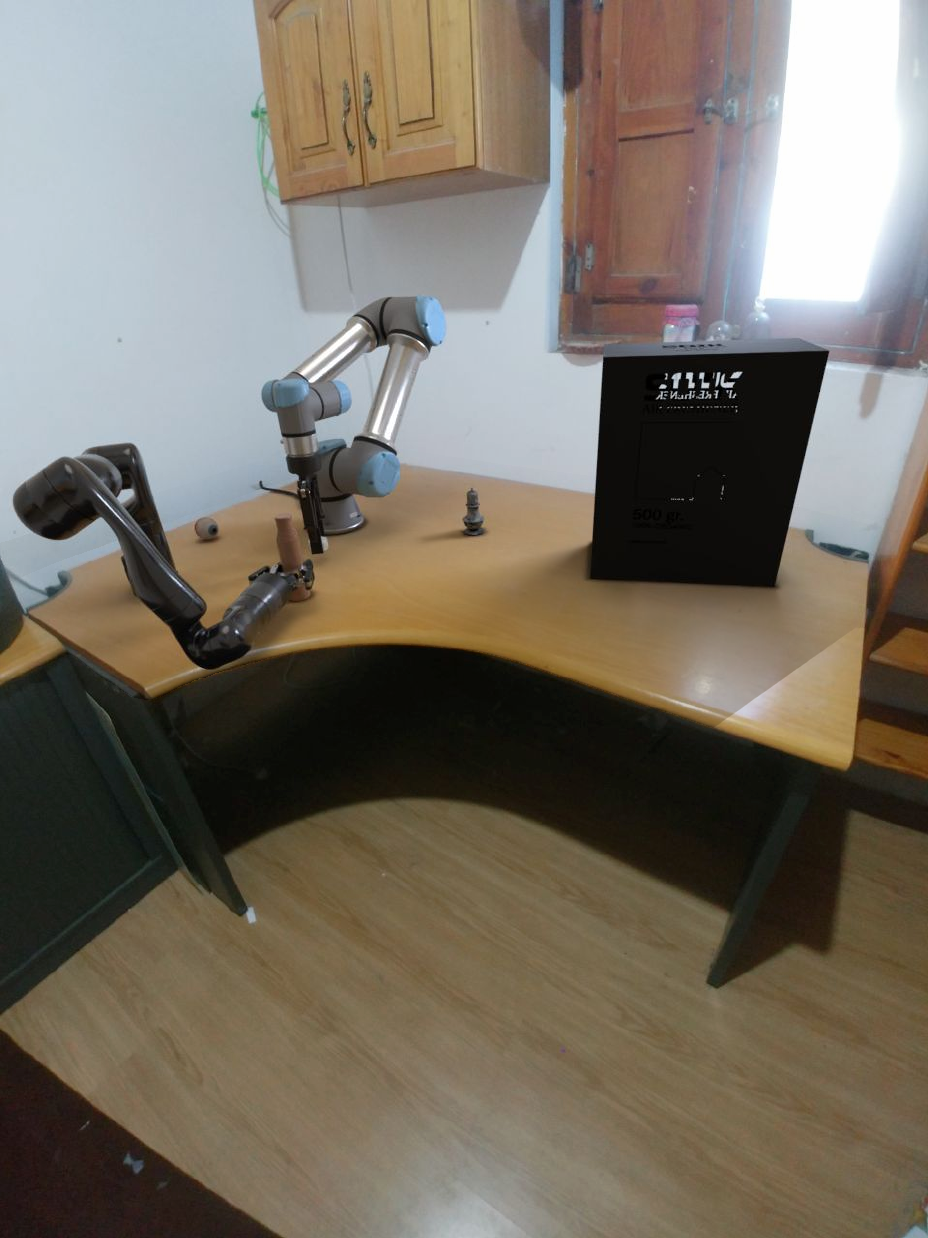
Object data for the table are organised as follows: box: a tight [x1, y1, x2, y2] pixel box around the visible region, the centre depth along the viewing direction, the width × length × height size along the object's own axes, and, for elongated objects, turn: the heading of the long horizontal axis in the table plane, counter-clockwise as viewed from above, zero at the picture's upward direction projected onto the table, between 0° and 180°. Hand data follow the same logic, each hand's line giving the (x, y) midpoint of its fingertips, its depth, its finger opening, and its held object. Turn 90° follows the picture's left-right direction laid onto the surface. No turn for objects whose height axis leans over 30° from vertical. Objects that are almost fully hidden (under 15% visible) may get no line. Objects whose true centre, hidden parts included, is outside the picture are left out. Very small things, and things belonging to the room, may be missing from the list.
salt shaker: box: [461, 487, 485, 536], centre depth 157 cm, size 6×6×12 cm
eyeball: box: [194, 516, 220, 541], centre depth 163 cm, size 6×6×6 cm
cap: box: [307, 536, 329, 552], centre depth 146 cm, size 4×4×2 cm
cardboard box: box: [589, 337, 830, 587], centre depth 126 cm, size 38×20×45 cm, turn 78°
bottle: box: [273, 512, 311, 602], centre depth 128 cm, size 5×5×19 cm
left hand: (298, 562), depth 132 cm, fingers closed on bottle, 4 cm apart
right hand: (319, 549), depth 147 cm, fingers closed on cap, 4 cm apart
